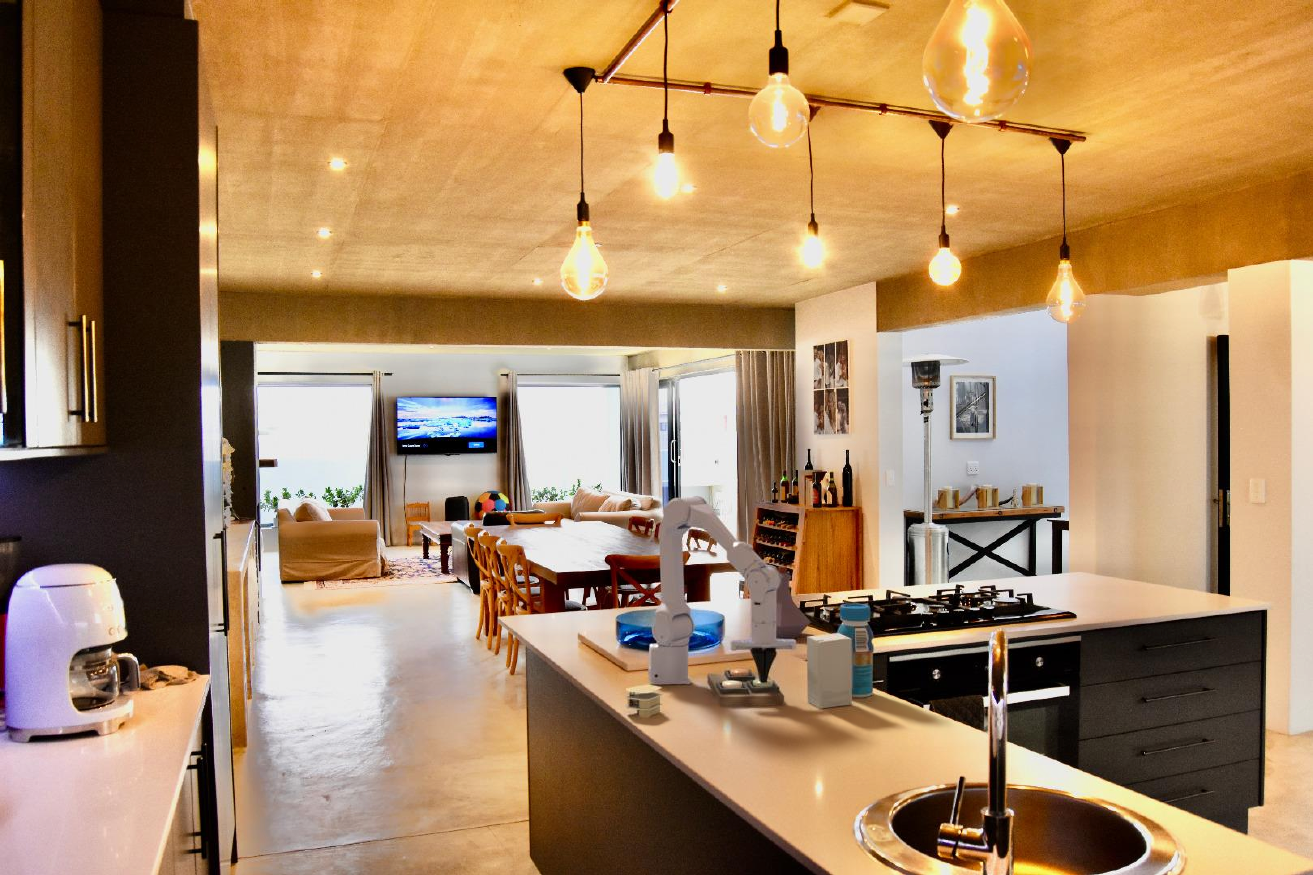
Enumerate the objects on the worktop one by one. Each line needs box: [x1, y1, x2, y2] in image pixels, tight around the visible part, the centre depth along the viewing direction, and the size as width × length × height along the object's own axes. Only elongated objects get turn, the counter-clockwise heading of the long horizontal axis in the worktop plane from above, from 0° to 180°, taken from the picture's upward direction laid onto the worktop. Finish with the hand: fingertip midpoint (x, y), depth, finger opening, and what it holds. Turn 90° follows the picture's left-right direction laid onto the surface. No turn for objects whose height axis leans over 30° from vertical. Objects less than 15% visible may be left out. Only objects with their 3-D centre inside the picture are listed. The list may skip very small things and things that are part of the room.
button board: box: [707, 669, 785, 707], centre depth 223 cm, size 14×20×3 cm
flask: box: [776, 565, 811, 639], centre depth 286 cm, size 16×16×20 cm
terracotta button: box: [730, 668, 749, 676], centre depth 229 cm, size 4×4×1 cm
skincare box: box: [806, 632, 853, 710], centre depth 215 cm, size 8×6×15 cm
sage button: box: [753, 679, 773, 688], centre depth 220 cm, size 4×4×1 cm
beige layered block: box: [625, 684, 663, 718], centre depth 207 cm, size 10×9×6 cm
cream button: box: [722, 681, 742, 689], centre depth 218 cm, size 4×4×1 cm
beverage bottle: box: [836, 602, 875, 699], centre depth 223 cm, size 8×8×20 cm
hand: (763, 681), depth 220 cm, fingers closed, pressing on sage button
